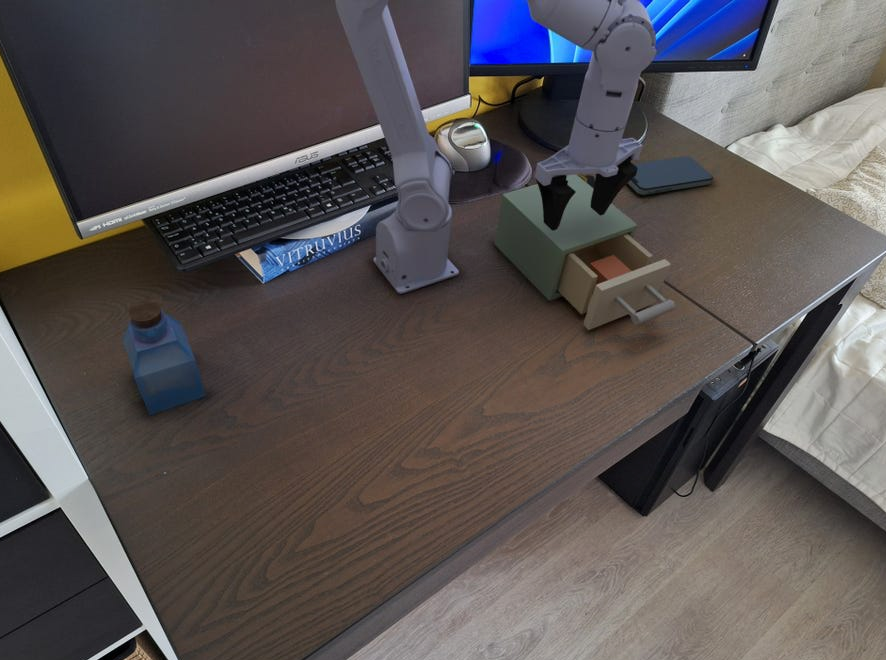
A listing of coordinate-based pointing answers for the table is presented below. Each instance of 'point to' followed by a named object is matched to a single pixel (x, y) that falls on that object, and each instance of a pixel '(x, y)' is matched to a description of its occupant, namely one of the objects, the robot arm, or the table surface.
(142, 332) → the perfume bottle
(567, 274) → the drawer
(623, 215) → the cabinet
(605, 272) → the block
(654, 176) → the smartphone
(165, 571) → the table surface
